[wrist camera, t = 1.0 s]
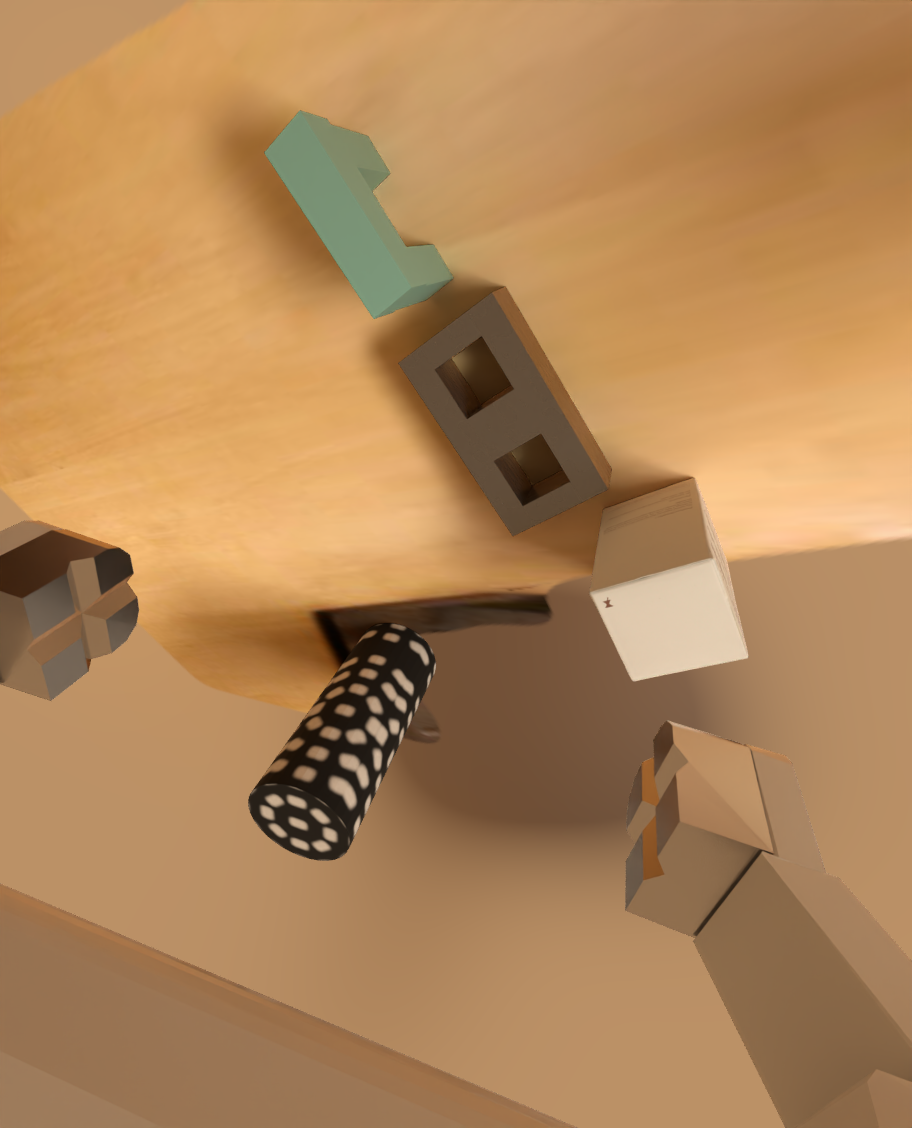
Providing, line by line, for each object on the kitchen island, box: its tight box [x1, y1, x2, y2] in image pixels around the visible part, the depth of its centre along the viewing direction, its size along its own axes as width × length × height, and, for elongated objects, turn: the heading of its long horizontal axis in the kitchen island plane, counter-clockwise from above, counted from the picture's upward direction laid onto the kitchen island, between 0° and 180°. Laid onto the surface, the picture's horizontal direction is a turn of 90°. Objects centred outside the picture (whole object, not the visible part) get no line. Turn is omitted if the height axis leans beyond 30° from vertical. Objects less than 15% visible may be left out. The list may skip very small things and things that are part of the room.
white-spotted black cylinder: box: [248, 623, 436, 861], centre depth 51 cm, size 8×8×20 cm
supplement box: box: [589, 478, 748, 681], centre depth 40 cm, size 7×7×13 cm
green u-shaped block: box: [264, 110, 453, 319], centre depth 36 cm, size 3×10×9 cm, turn 35°
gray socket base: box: [398, 287, 612, 536], centre depth 42 cm, size 8×15×4 cm, turn 35°
